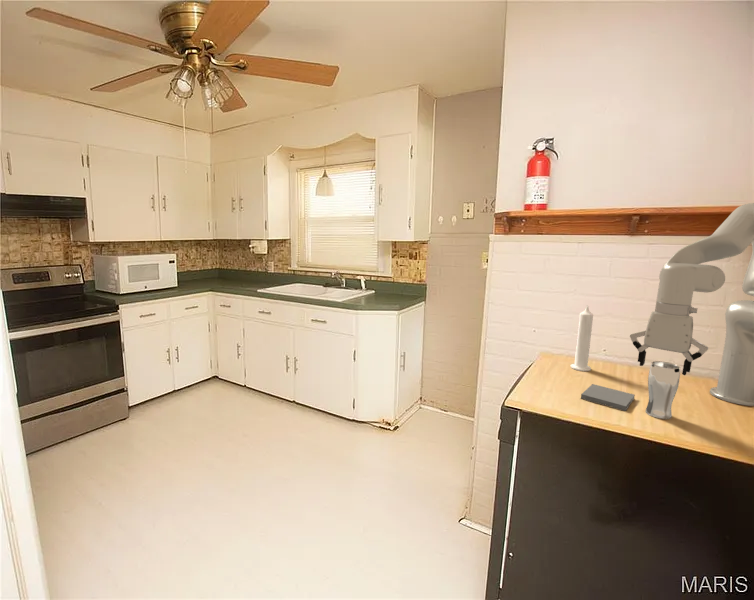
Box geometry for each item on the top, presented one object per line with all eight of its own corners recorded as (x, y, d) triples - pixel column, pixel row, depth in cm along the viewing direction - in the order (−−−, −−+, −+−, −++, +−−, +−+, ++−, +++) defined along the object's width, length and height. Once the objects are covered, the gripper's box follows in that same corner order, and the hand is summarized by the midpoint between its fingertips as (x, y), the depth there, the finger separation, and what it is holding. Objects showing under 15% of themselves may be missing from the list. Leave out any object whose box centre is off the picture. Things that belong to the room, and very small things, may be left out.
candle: (593, 372, 142) (601, 307, 138) (573, 370, 143) (580, 306, 139) (587, 366, 149) (594, 304, 145) (568, 364, 150) (574, 303, 146)
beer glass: (664, 422, 103) (671, 370, 101) (638, 411, 109) (644, 362, 107) (679, 417, 106) (687, 367, 103) (652, 407, 112) (659, 359, 110)
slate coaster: (634, 399, 118) (634, 394, 118) (625, 411, 110) (626, 406, 109) (591, 388, 126) (592, 383, 126) (580, 398, 118) (581, 394, 118)
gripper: (715, 313, 99) (703, 374, 102) (637, 303, 111) (629, 359, 114) (713, 316, 94) (701, 381, 97) (632, 306, 106) (623, 364, 108)
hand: (662, 369), depth 105 cm, fingers open, 9 cm apart
